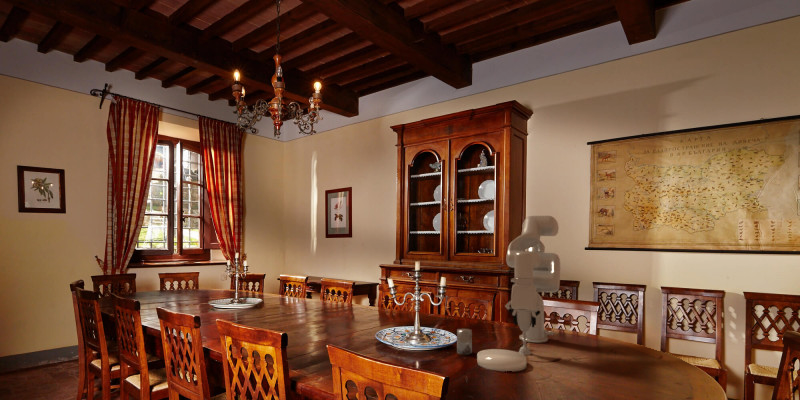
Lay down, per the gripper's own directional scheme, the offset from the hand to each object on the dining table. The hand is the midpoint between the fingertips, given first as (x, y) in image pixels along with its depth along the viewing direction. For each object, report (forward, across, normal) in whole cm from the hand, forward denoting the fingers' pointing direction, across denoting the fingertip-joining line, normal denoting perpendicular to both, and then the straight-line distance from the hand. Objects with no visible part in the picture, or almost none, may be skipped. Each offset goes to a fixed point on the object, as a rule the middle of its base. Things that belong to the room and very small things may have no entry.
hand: (524, 325), depth 175 cm
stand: (+11, -7, -18) cm, 23 cm away
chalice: (+11, 0, 0) cm, 11 cm away
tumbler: (+11, -23, -9) cm, 27 cm away
